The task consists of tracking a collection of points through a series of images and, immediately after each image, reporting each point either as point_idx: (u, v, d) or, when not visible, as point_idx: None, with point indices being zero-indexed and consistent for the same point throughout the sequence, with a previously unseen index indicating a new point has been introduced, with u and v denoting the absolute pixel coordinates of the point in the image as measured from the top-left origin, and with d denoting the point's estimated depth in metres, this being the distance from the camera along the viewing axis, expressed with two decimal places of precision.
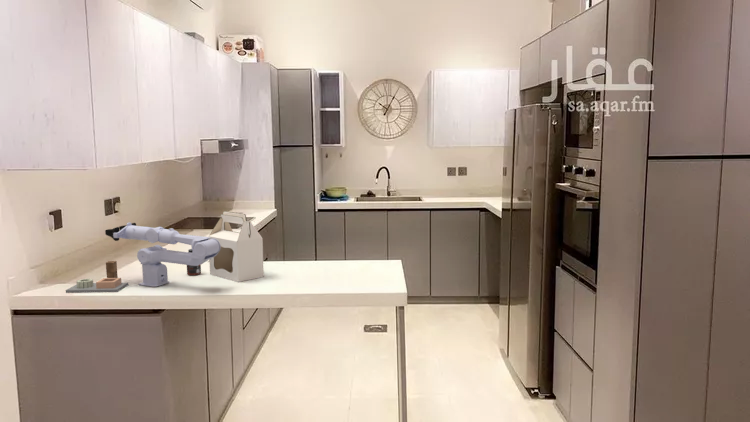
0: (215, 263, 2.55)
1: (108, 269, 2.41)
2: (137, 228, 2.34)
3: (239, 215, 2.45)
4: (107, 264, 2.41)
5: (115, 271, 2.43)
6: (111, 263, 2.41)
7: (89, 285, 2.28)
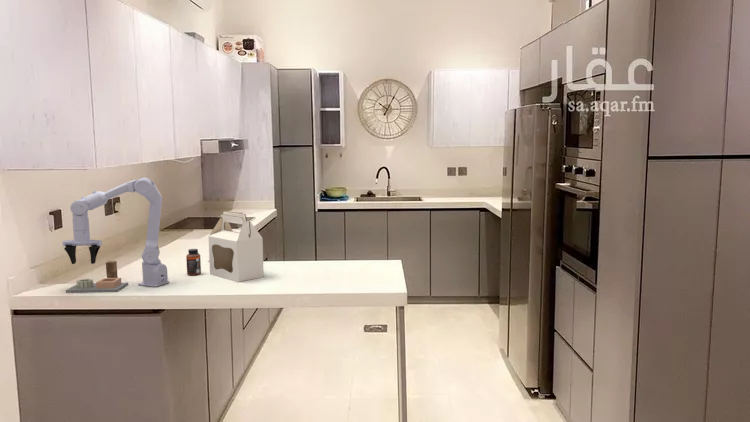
0: (215, 263, 2.55)
1: (108, 269, 2.41)
2: (74, 228, 2.24)
3: (239, 215, 2.45)
4: (107, 264, 2.41)
5: (115, 271, 2.43)
6: (111, 263, 2.41)
7: (89, 285, 2.28)
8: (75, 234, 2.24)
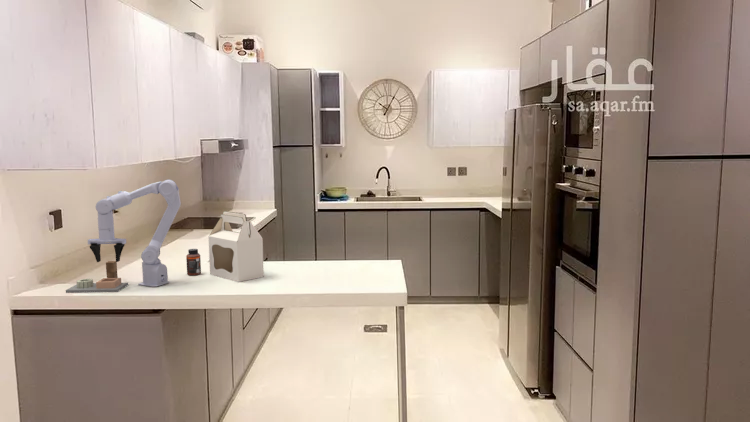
0: (215, 263, 2.55)
1: (108, 269, 2.41)
2: (99, 226, 2.27)
3: (239, 215, 2.45)
4: (107, 264, 2.41)
5: (115, 271, 2.43)
6: (111, 263, 2.41)
7: (89, 285, 2.28)
8: (100, 233, 2.27)
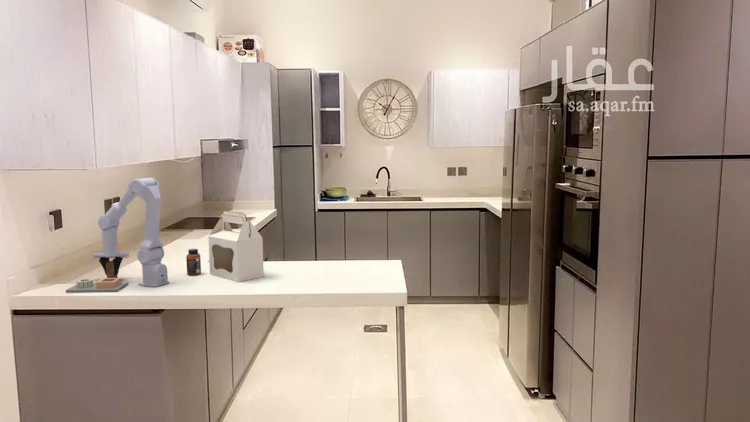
0: (215, 263, 2.55)
1: (108, 269, 2.41)
2: None
3: (239, 215, 2.45)
4: (107, 264, 2.41)
5: None
6: (111, 263, 2.41)
7: (89, 285, 2.28)
8: (104, 247, 2.39)
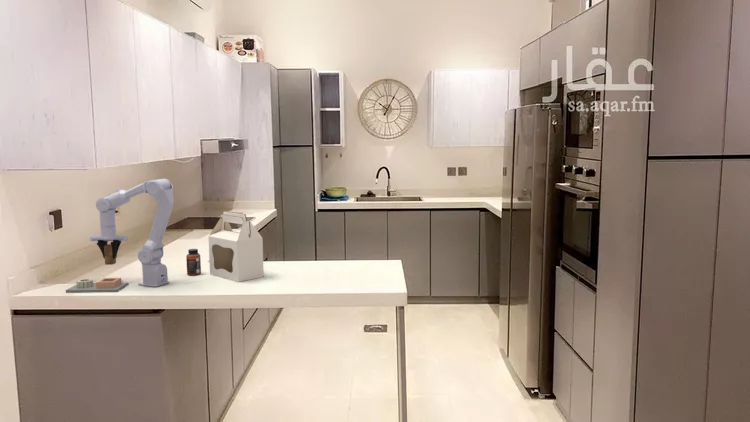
0: (215, 263, 2.55)
1: (106, 252, 2.37)
2: (100, 223, 2.36)
3: (239, 215, 2.45)
4: (105, 247, 2.37)
5: None
6: (109, 246, 2.37)
7: (89, 285, 2.28)
8: (102, 230, 2.35)
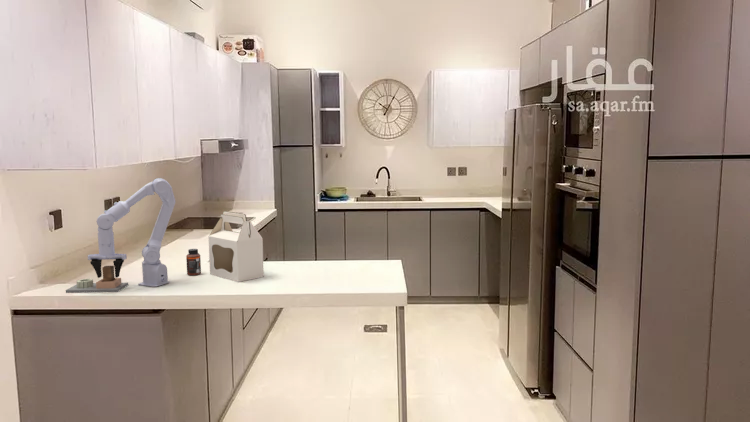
0: (215, 263, 2.55)
1: (105, 274, 2.27)
2: (100, 242, 2.25)
3: (239, 215, 2.45)
4: (104, 269, 2.27)
5: (112, 276, 2.29)
6: (108, 268, 2.27)
7: (89, 285, 2.28)
8: (100, 248, 2.25)
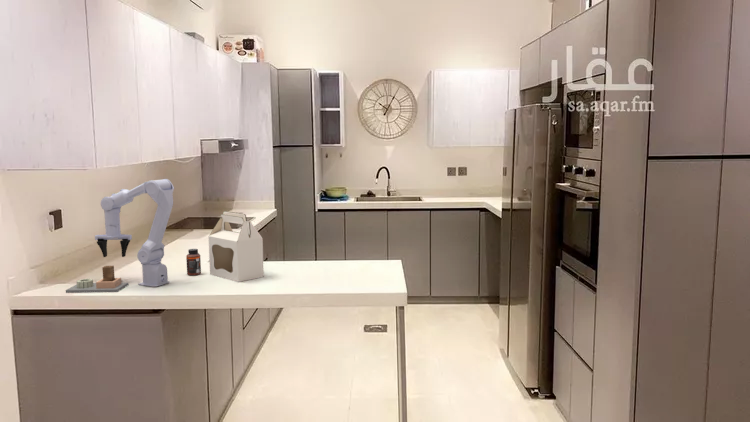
0: (215, 263, 2.55)
1: (105, 274, 2.27)
2: (105, 222, 2.38)
3: (239, 215, 2.45)
4: (104, 269, 2.27)
5: (112, 276, 2.29)
6: (108, 268, 2.27)
7: (89, 285, 2.28)
8: (107, 229, 2.37)
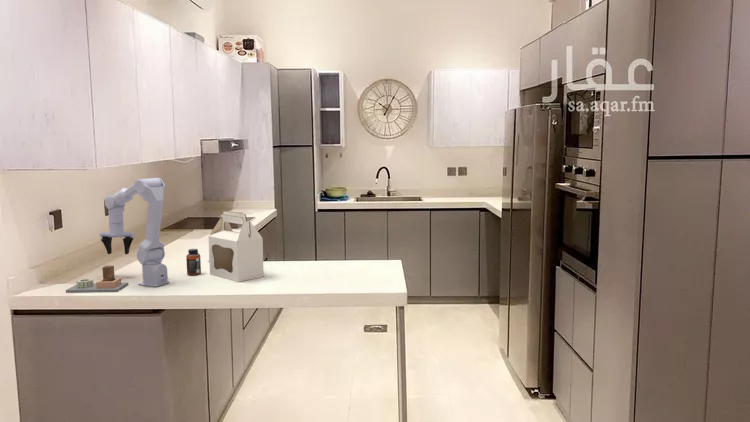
0: (215, 263, 2.55)
1: (105, 274, 2.27)
2: None
3: (239, 215, 2.45)
4: (104, 269, 2.27)
5: (112, 276, 2.29)
6: (108, 268, 2.27)
7: (89, 285, 2.28)
8: (111, 226, 2.43)
